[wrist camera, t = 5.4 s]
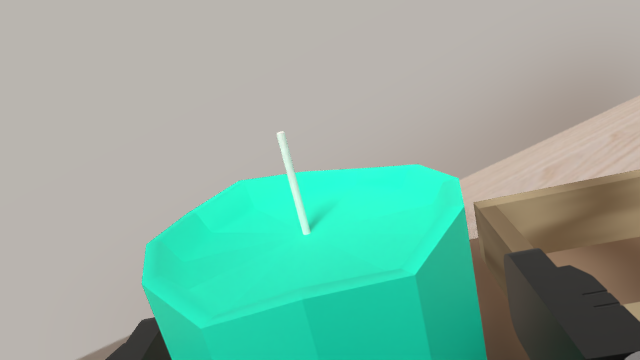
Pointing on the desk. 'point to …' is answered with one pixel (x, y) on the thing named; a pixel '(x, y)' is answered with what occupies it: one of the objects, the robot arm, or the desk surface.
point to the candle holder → (557, 245)
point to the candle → (320, 269)
